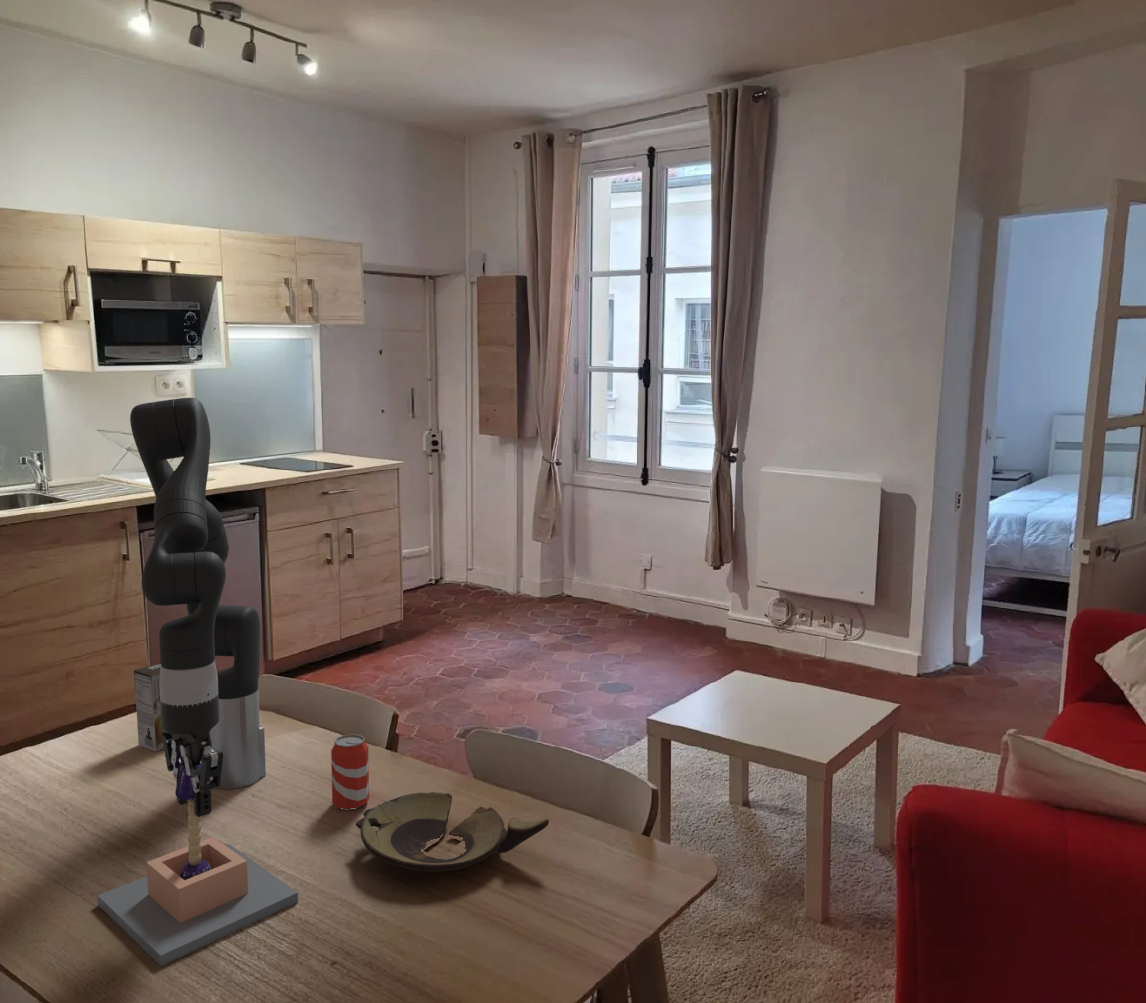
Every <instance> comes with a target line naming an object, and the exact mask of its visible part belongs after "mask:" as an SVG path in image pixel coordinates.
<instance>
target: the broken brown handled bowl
mask: <svg viewBox="0 0 1146 1003" xmlns="http://www.w3.org/2000/svg"><path fill="white" fill-rule="evenodd" d="M452 800H453V796H452V795H451V794H450V793H448V792H447V793H444V792H443V793H442V792H434V791H431V792H415V793H410V794H404V795H402V796H399V797H396V798H392V799H390V800H388V801H384V802H383V803H381V804H378V805H377V806H375V807H372V808H367V809H366V810H364V812H363V816H364V817H363V818H360V819H359V820H357V821H356V822H355V826H356V827H357V828H358V829H359V830H360V831H359V832H360V837H361V841H362V843H363V845H364V847H365V848H366V850H368V851H369V852H370V853H371V854H372V855H373V856H375V857H377V858H379V859H381V860H382V861H384V862H387V864H392V865H394V866H398V867H401V868H405V869H409V870H415V871H420V872H446V871H452V870H453V871H454V870H458V869H459V870H460V869H462V868H467V867H470V866H472V865H475V864H477V863H479V862H481V861H483V860H485V859H486V858H488V857H490V856H491V855H493V854H494V853H498V854H503V853H504V854H505V853H508V852H510V851H512V850H513V849H514V848H516V847H518V846H519V845H520V844H522V843H523V842H526V841H527V840H528V839H530V838H532V837H533V836H534V835H536V834H538V833H540V832H542V830H544V829H545V828H546V827H548V825H549V824H550V821H549V819H548V818H541V819H538V820H533V821H525V820H523V819H521V818H520V817H517V816H513V817H512V818H510V819H509V821H508V824H507V830H506V828H505V823H504V821H503V818H502V817H501V815H500V814H499V813H498V811H497V810H496V809H495V808H492V807H491V806H490V807H488V808H486V807H483V806H479V807H478V808H477V809H476V810H475V811H472V813H471V814H470V815H469V816H468V817H466V818H465V819H464V820H463V821H462V822H460V823H459V824H458V825H455V827H454V828H452V829H451V830H449V833H448V834H449V835H453V836H459V837H463V841H465V845H466V846H465V849H467V850H466V852H464V854H461V855H460V856H458V857H456V858H453V859H448V860H447V859H446V860H444V859H436V858H433V857H429V856H426V855H425V854H424V853H423V852H421V849H424V848H425V846H427V845H426V844H427V843H426V842H428V841H430V840H433V839H437V838H440V836H441V835H442V834H443V833H444V834H445V832H446V828H447V824H448V821H449V815H450V813H451V812H450V811H451V805H452ZM373 827H376V828H378V830H375V828H373ZM444 831H445V832H444Z"/></svg>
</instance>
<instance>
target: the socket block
mask: <svg viewBox="0 0 1146 1003" xmlns="http://www.w3.org/2000/svg"><path fill="white" fill-rule="evenodd" d="M200 843H201V851H200V853H201V860H205V861H207V862H208V863H209V865H210V867H211V870H209V871H207V872H204V873H202V874H199V875H197V876H194V877H192V878H189V879H187V880H185V881H184V880H183V879H182V878H181V877H180V872H181V870H182V868H183V866H184V865H185V864H186V863H188V862H189V859H188V858H189V854H190V853H189V850H188V847H189V845H188V846H185V847H183V848H180V849H177V850H175V851H172V852H170V853H166V854H165V855H162V856H159V857H156V858H154V859H153V858H152V859H151V860H148V861H146V876H144V877H141V878H139V879H135V880H133V881H131V882H128V883H126V884H123V885H121V886H118V887H115V888H113V889H111V890H108V891H105V892H103V893H100V894H97V905H98V907H100V909H102V910H103V912H104V913H106V915H108V916H109V917H110V918H111V920H113V921H114V922H115V924H117V926H119V927H120V928H121V929H122V930H123V931H124V933H126V934H127V935H128V936H129V937H130V938H131V939H132V940H134V941H135V943H136V944H138V945H139V947H140V948H142V950H143V951H144V952H145V953H146V954H148V955H149V956H150V957H151V958H152V959H153V960H154V961H155V963H157V964H158V965H159V966H160V967H163V966H165V965H167V964H169V963H171V962H174V961H175V960H177V959H180V958H182V957H184V956H186V955H188V954H190V953H193V952H195V951H197V950H199V949H201V948H204V947H206V946H207V945H209V944H211V943H213V942H216V941H218V940H221V939H222V938H225V937H226V936H228V935H231V934H233V933H236V932H237V931H239V930H240V931H241V929H244V928H246V927H248V926H250V925H252V924H255V923H257V922H259V921H261V920H264V919H265V918H267V917H270V916H271V915H274V914H276V913H278V912H280V911H282V910H285V909H286V908H289V907H291V906H293V905H295V904H297V903H299V892H298V891H296V890H295V889H294V888H292V887H291V886H290V885H288V884H287V883H286V882H284V881H282V880H281V879H280V878H278V877H276V876H275V875H274V874H272V873H271V872H269V870H267V869H265V868H264V867H262V866H261V865H260V864H258V863H257V862H255V861H254V860H252V859H251V858H250V857H248V856H247V855H245V854H244V853H243V852H241V851H240V850H238V849H237V848H236V847H234V846H233V845H231V844H230V843H228V844H224V843H222V841H220V840H218V839H217V838H216V837H214V836H212V837H209V838H207V839H204V840H201V841H200Z"/></svg>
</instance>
